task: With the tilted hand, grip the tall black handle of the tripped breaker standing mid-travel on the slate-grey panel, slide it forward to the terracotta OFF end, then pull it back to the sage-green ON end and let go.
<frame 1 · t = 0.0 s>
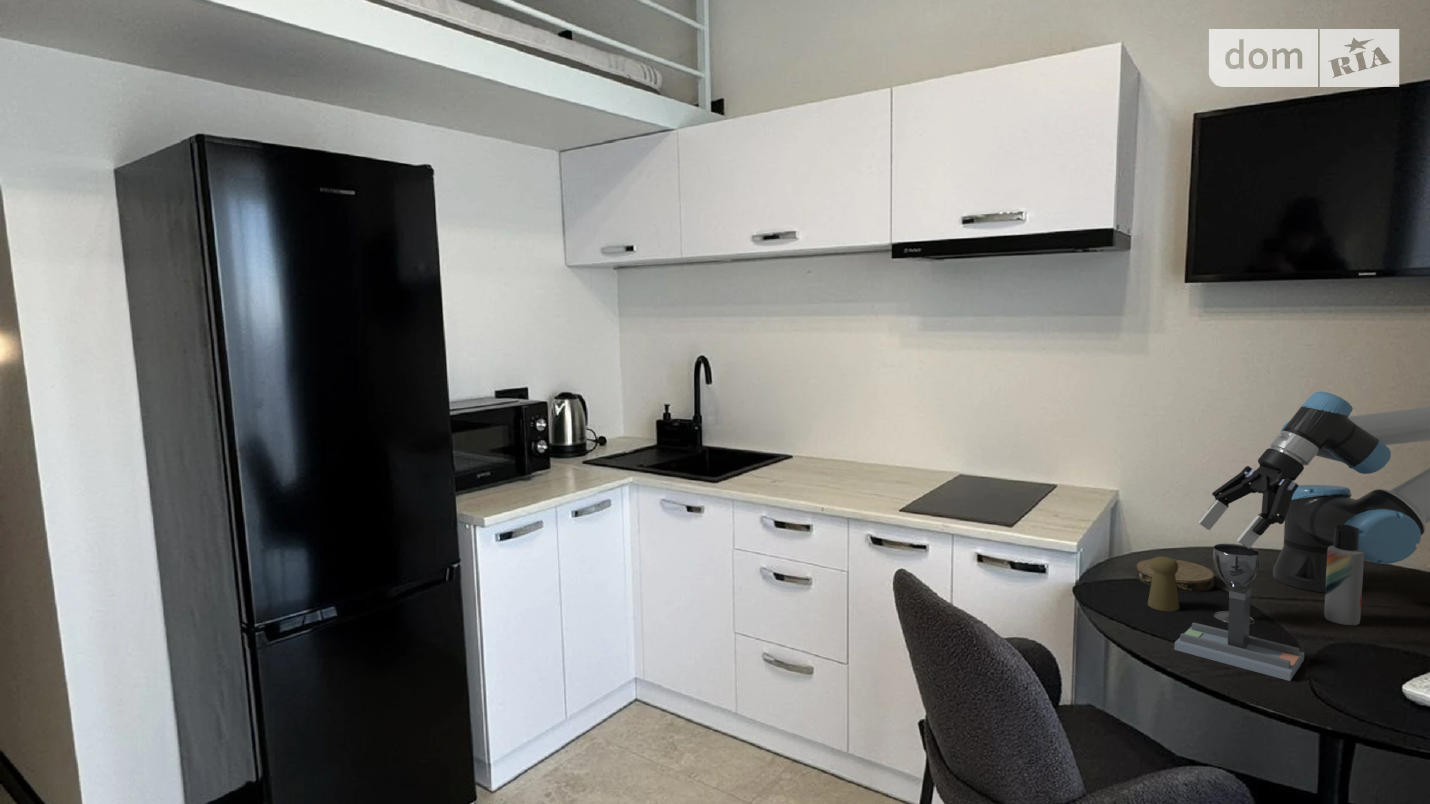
hand: (1222, 535, 161), 16 cm above the table, tool tilted 35°, fingers open, 13 cm apart
cork: (1163, 607, 164), on the table
lotion bottle: (1341, 621, 153), on the table
wood slice: (1174, 582, 179), on the table
wine glass: (1233, 619, 156), on the table, touching gripper
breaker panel: (1237, 654, 140), on the table
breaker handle: (1239, 617, 139), point 7 cm above the table, slide at 0.0 cm
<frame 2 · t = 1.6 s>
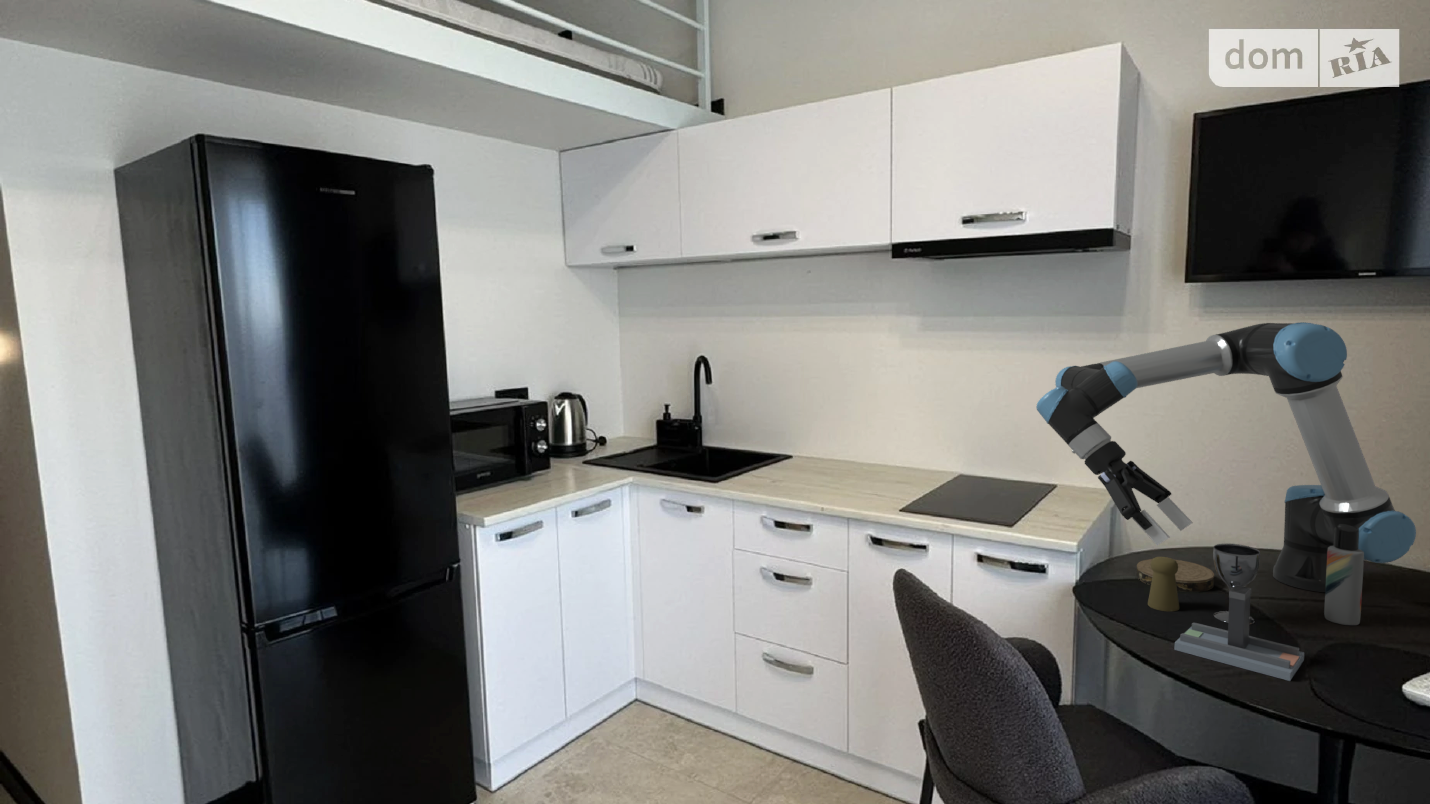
hand: (1175, 534, 145), 21 cm above the table, tool tilted 45°, fingers open, 13 cm apart
wine glass: (1233, 618, 156), on the table
everything else where it was.
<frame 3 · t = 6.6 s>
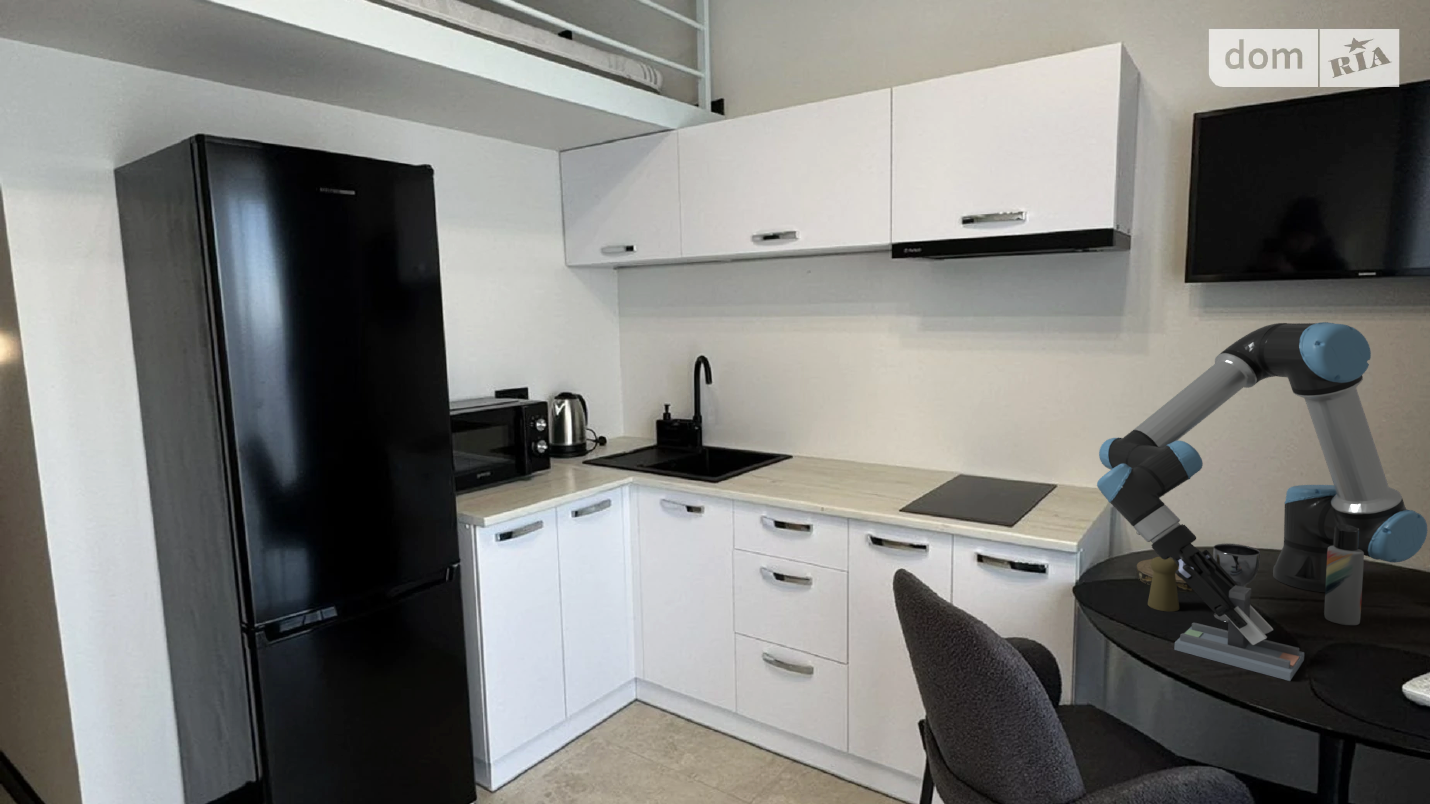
hand: (1263, 636, 136), 5 cm above the table, tool tilted 45°, fingers closed on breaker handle, 4 cm apart
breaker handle: (1239, 617, 139), point 7 cm above the table, slide at 0.0 cm, touching gripper
everything else where it was.
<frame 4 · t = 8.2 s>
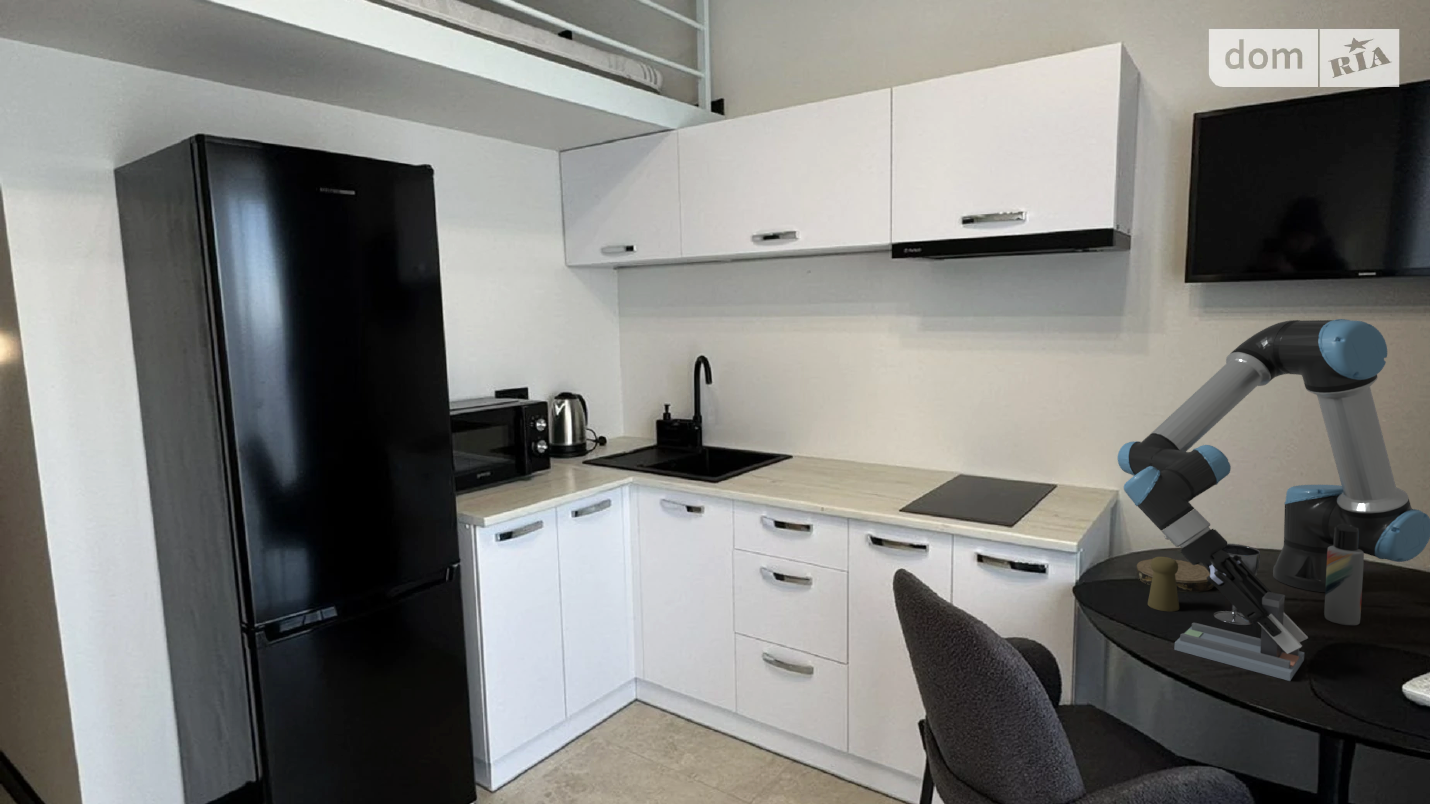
hand: (1297, 645, 133), 5 cm above the table, tool tilted 45°, fingers closed on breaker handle, 4 cm apart
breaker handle: (1272, 625, 135), point 7 cm above the table, slide at 5.1 cm, touching gripper
everything else where it was.
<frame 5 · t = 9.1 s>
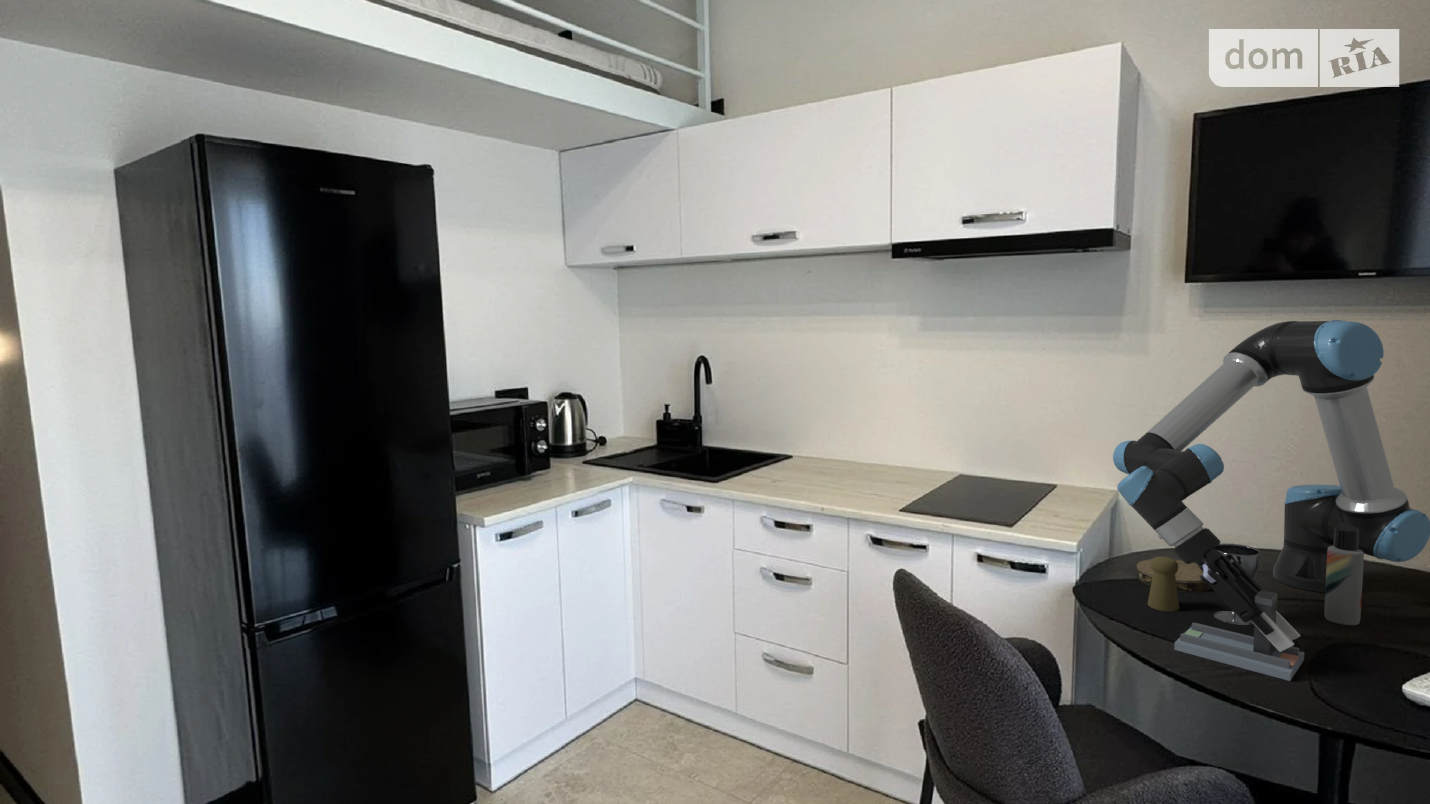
hand: (1290, 643, 133), 5 cm above the table, tool tilted 45°, fingers closed on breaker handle, 4 cm apart
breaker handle: (1265, 623, 136), point 7 cm above the table, slide at 4.0 cm, touching gripper
everything else where it was.
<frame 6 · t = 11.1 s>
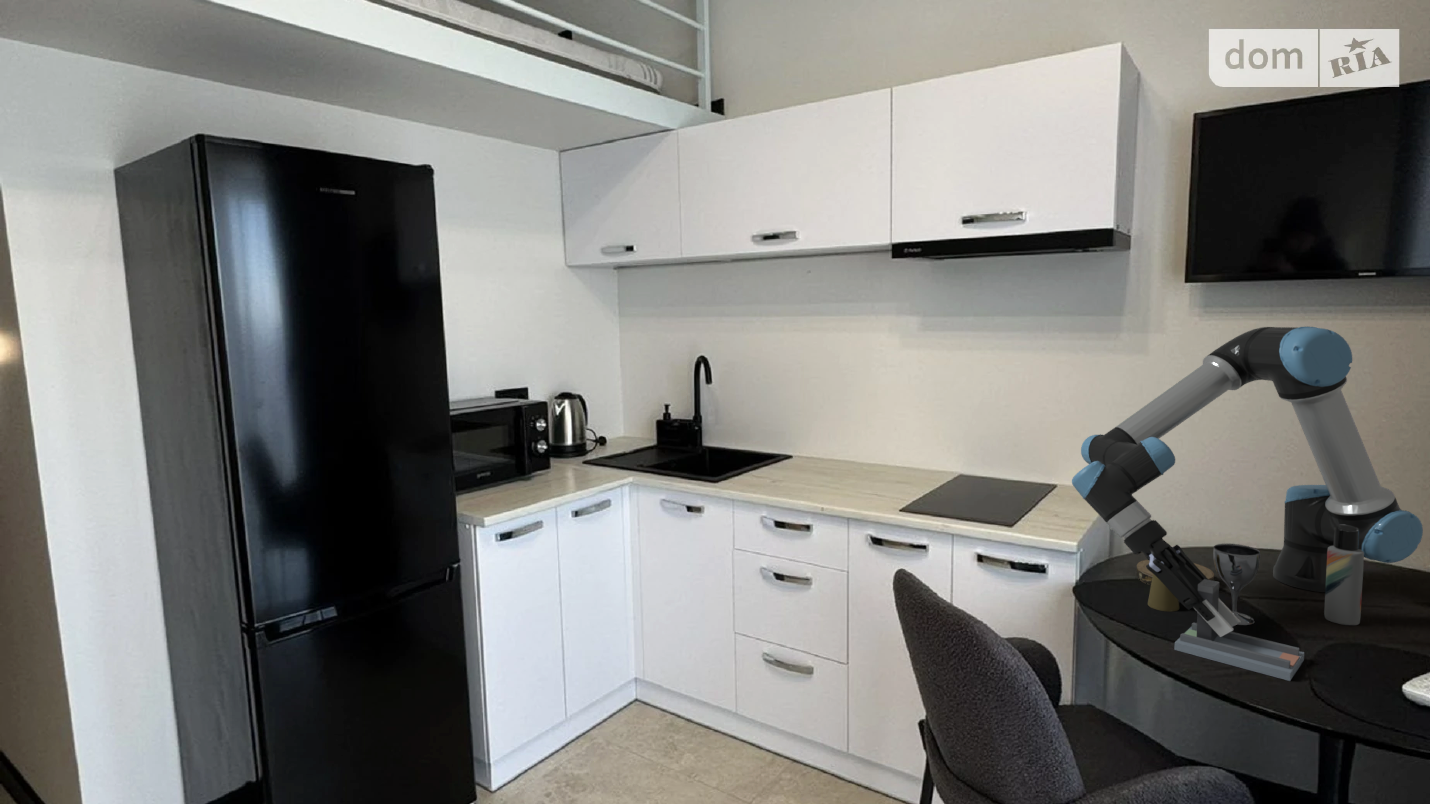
hand: (1230, 629, 140), 5 cm above the table, tool tilted 45°, fingers closed on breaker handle, 4 cm apart
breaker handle: (1207, 610, 143), point 7 cm above the table, slide at -5.1 cm, touching gripper
everything else where it was.
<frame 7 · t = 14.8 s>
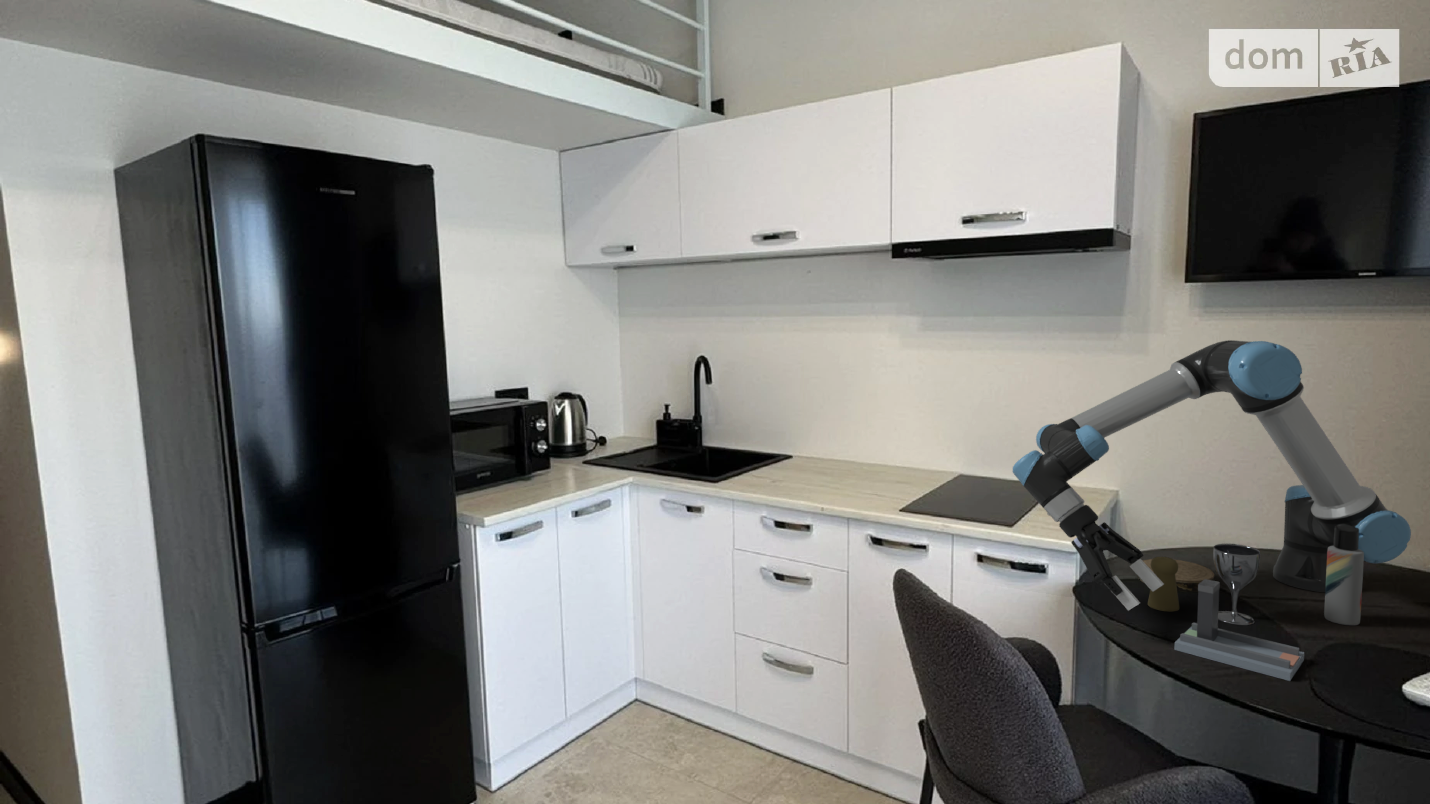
hand: (1146, 597, 151), 7 cm above the table, tool tilted 45°, fingers open, 13 cm apart
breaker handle: (1208, 610, 143), point 7 cm above the table, slide at -5.0 cm
everything else where it was.
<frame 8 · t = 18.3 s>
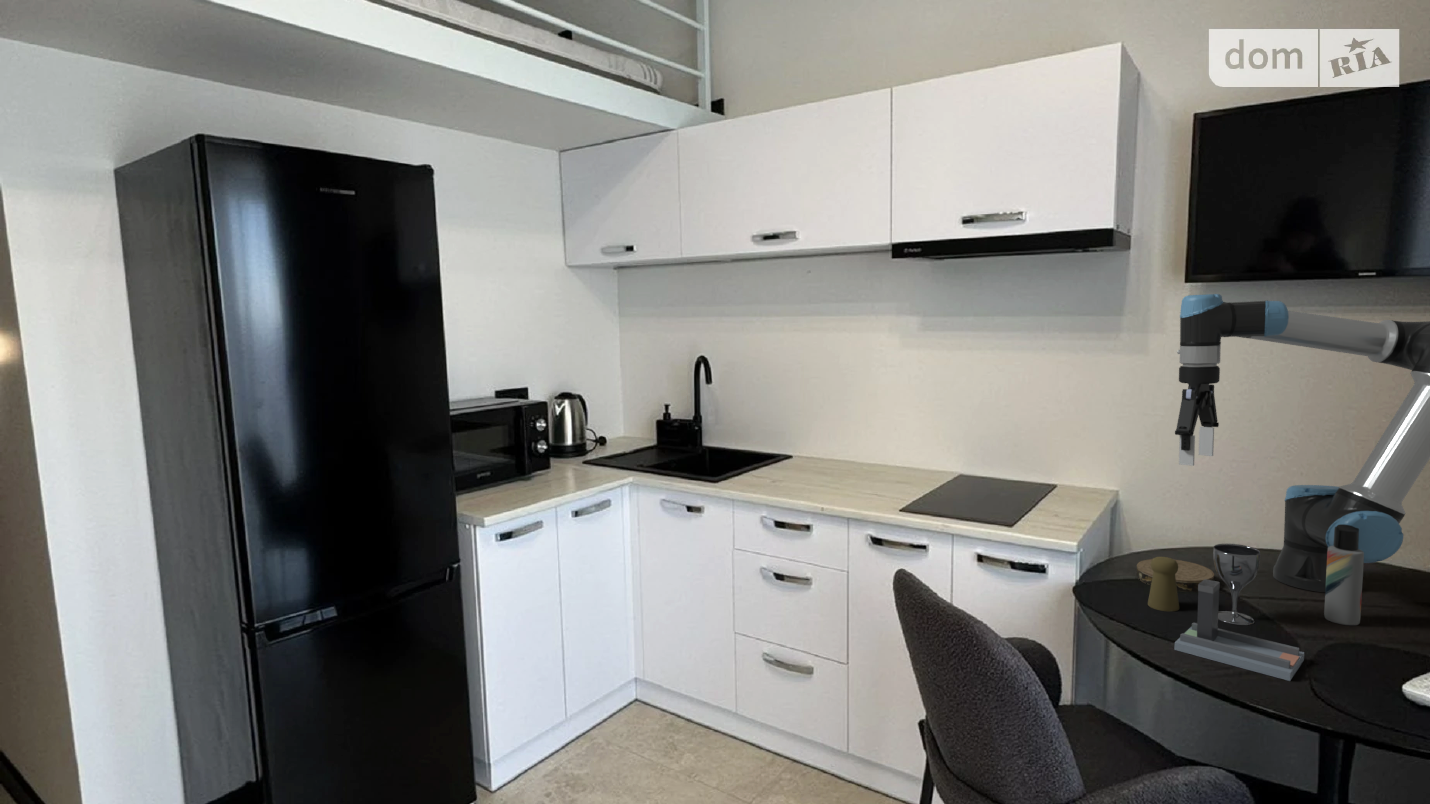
hand: (1196, 460, 164), 32 cm above the table, tool pointing down, fingers open, 13 cm apart
nothing on the table moved.
at the end: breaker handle slide at -5.0 cm; the gripper is holding nothing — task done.
